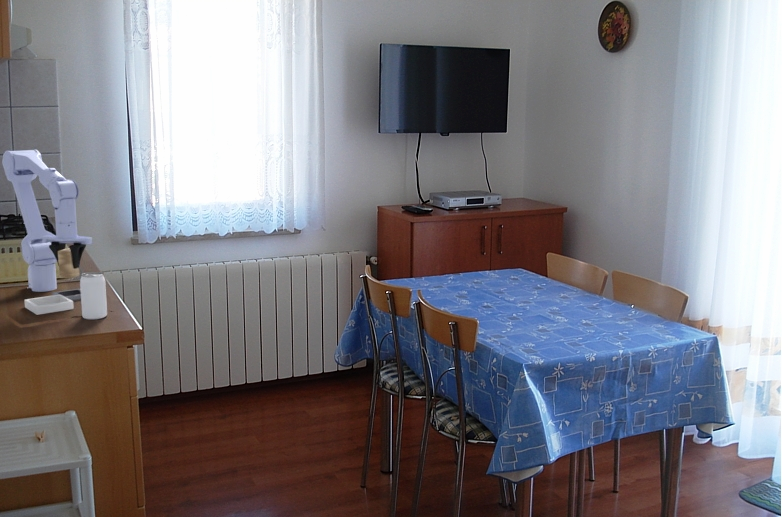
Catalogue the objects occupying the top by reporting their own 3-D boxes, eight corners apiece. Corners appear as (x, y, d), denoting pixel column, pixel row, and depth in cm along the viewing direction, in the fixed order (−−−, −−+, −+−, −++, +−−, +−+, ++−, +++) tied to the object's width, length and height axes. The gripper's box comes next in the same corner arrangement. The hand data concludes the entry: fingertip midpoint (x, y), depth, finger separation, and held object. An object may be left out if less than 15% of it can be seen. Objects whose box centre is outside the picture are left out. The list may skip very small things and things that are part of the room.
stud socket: (50, 299, 237) (50, 292, 237) (81, 294, 243) (80, 287, 243) (61, 305, 231) (60, 298, 230) (92, 300, 236) (91, 293, 236)
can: (99, 320, 216) (96, 277, 214) (77, 319, 217) (74, 276, 215) (111, 314, 222) (109, 272, 220) (90, 313, 223) (88, 271, 221)
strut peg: (59, 277, 234) (57, 251, 232) (67, 274, 238) (65, 248, 236) (72, 278, 233) (70, 251, 232) (79, 275, 237) (77, 249, 235)
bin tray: (25, 309, 226) (24, 299, 225) (61, 304, 232) (60, 294, 231) (36, 317, 218) (36, 306, 218) (73, 311, 225) (73, 301, 224)
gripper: (35, 223, 229) (38, 269, 232) (81, 225, 227) (84, 271, 230) (49, 219, 236) (52, 264, 239) (94, 221, 234) (97, 266, 237)
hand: (69, 267), depth 235 cm, fingers closed on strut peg, 4 cm apart
